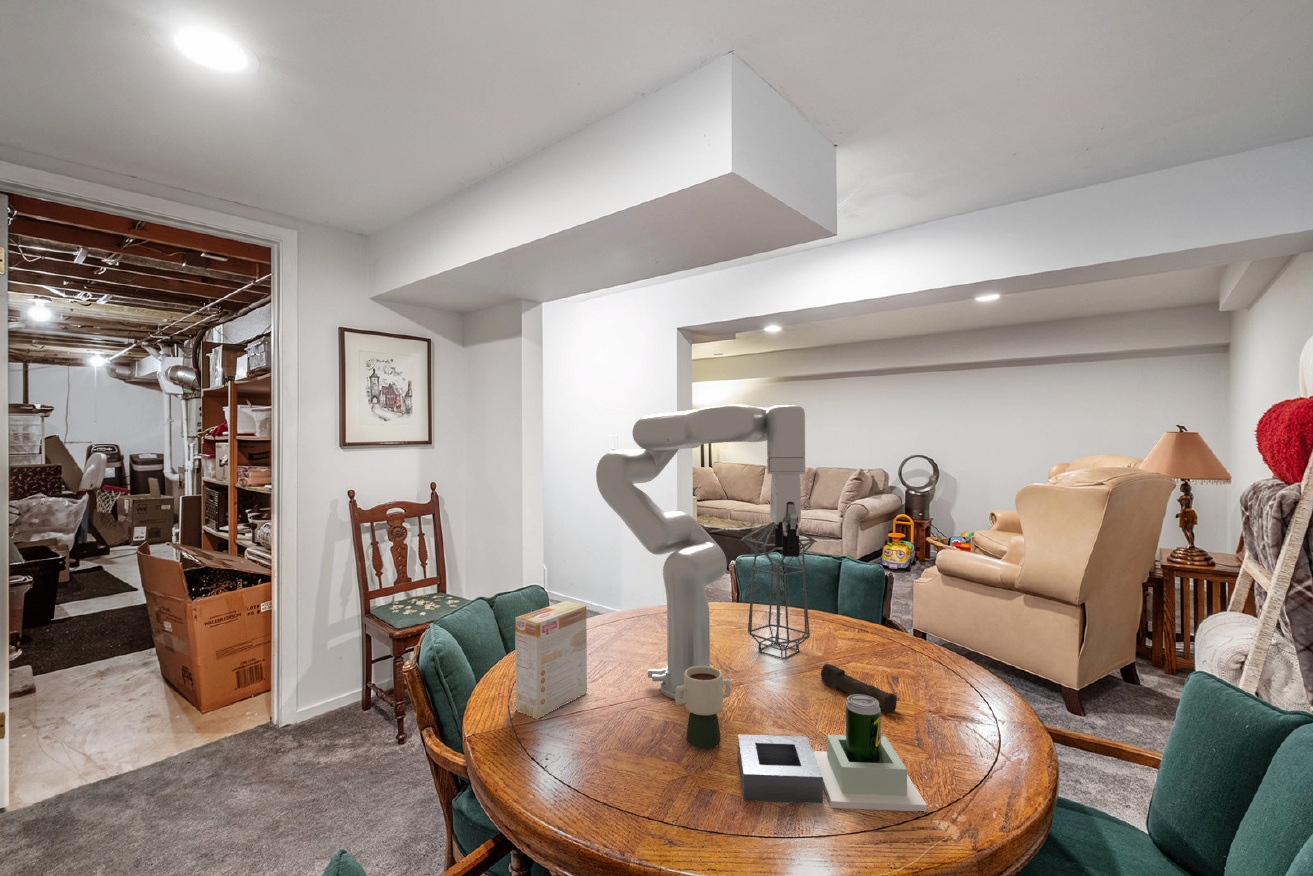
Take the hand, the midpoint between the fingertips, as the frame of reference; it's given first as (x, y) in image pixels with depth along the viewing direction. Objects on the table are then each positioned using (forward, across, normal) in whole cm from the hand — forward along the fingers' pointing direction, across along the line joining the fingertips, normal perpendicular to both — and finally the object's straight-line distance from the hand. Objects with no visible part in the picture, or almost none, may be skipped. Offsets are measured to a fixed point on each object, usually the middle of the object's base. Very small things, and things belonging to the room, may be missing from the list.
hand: (786, 551), depth 113 cm
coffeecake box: (+34, -4, -49) cm, 60 cm away
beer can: (+32, +21, +9) cm, 40 cm away
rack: (+33, +21, +9) cm, 40 cm away
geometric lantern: (+34, -38, +4) cm, 51 cm away
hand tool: (+34, -11, +16) cm, 39 cm away
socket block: (+33, +21, -5) cm, 40 cm away
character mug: (+34, +11, -17) cm, 39 cm away
